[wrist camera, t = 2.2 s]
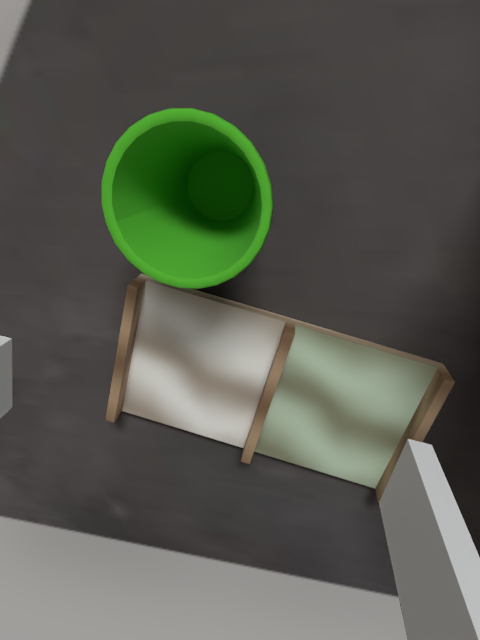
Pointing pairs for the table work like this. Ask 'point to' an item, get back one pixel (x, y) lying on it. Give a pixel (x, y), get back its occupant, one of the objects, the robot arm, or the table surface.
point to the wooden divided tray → (271, 383)
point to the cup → (187, 198)
